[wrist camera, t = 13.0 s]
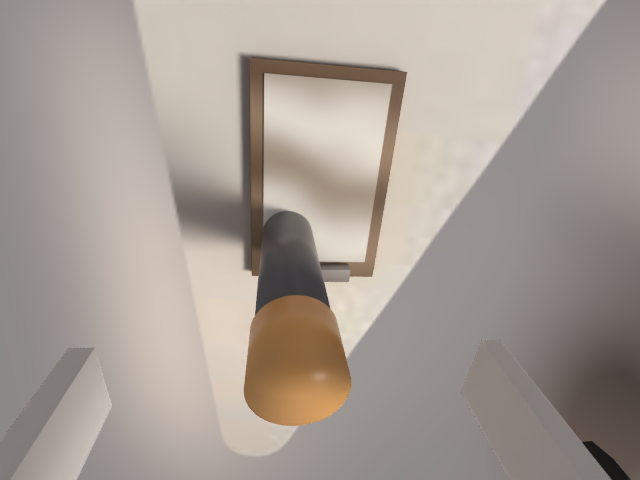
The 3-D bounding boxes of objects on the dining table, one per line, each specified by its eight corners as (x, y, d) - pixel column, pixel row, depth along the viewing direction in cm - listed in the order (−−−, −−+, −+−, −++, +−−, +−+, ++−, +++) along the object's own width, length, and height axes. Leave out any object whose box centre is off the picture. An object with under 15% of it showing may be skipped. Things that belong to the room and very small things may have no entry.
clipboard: (250, 58, 19) (248, 57, 18) (403, 71, 20) (412, 72, 19) (252, 271, 25) (250, 282, 24) (370, 272, 26) (375, 283, 25)
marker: (260, 208, 22) (242, 349, 11) (316, 209, 23) (357, 346, 11) (260, 257, 24) (245, 428, 12) (312, 258, 24) (345, 423, 13)
